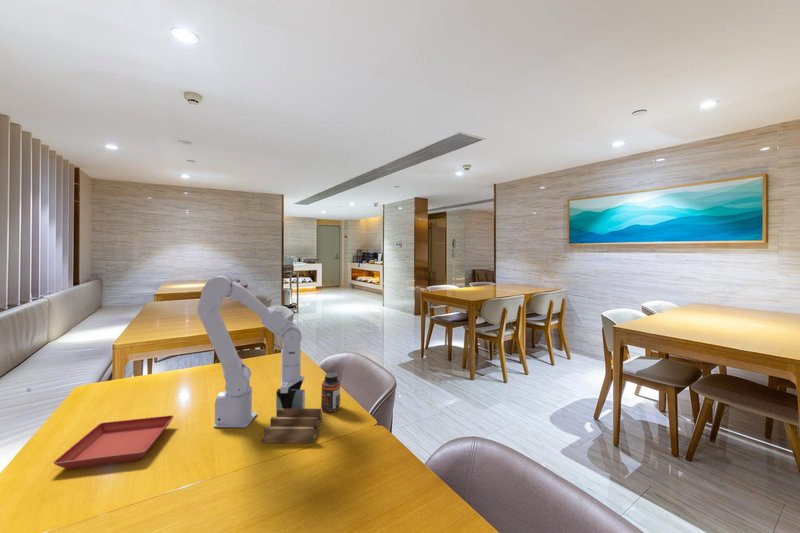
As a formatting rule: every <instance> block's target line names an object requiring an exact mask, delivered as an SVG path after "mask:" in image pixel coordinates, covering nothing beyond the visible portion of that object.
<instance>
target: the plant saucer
mask: <svg viewBox="0 0 800 533" xmlns="http://www.w3.org/2000/svg"><path fill="white" fill-rule="evenodd" d="M173 419H174V415H173V414H171V415H163V416H154V417H152V416H151V417H143V418H135V419H126V420H125V419H124V420H115V421H106V422H100V423H99V424H97V425H96V426H94V428H93V429H91V430H90V431H89V432H87V433H86V434H85V435H84V436H82V437H81V438H80V439H79V440H78V441H77V442H75V444H73V445H71V447H69V448H68V449H67V450H65V451H64V453H62V454H61V455H59V457H57V458H56V459H55V460H54V461H53V462H52V463H53V464H54V465H55V466H58V467H61V468H64V469H67V470H71V469H78V468H88V467H95V466H101V465H102V466H104V465H109V464H110V465H111V464H119V463H126V462H127V463H128V462H134V461H140V460H141V459H142V458H144V456H145V455H146V454H147V452H148V451H149V450H150V449H151V447H152V446H153V445H154V444H155V442H156V441H157V440H158V439H159V437H160V436H161V435H162V434H163V432H164V431H165V430H166V428H167V427H168V426H169V425H170V423H171V422H172V420H173Z"/></svg>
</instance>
